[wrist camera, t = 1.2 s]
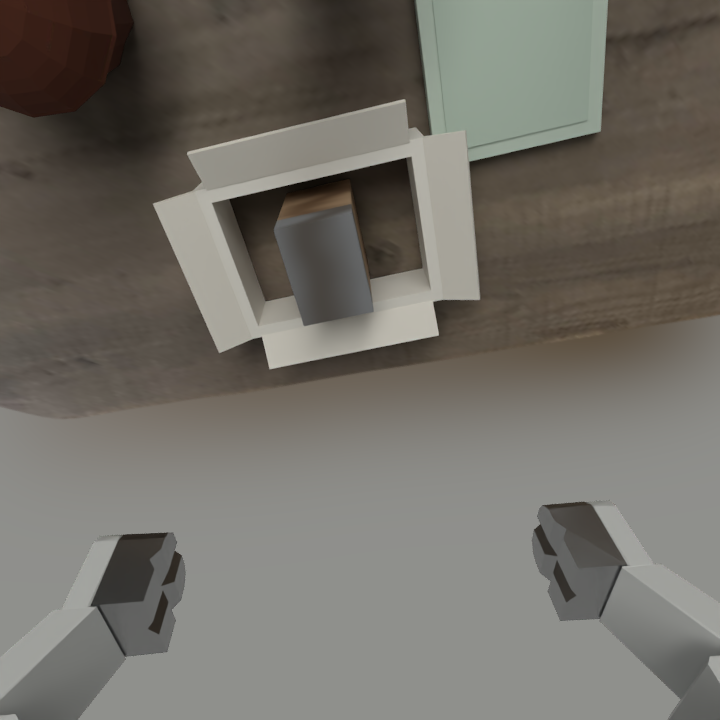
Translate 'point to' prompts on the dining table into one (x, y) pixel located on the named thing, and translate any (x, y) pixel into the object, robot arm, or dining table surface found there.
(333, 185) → the grey brown rectangular block
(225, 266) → the carton
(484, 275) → the dining table surface
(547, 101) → the plate
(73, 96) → the muffin
